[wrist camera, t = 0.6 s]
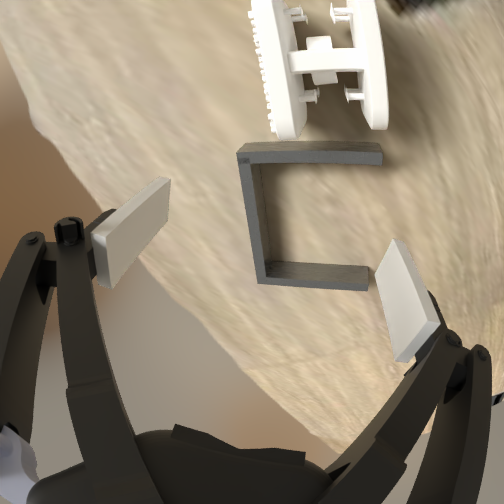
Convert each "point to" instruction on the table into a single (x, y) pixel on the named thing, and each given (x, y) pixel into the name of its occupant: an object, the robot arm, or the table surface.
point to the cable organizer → (318, 63)
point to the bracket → (257, 221)
